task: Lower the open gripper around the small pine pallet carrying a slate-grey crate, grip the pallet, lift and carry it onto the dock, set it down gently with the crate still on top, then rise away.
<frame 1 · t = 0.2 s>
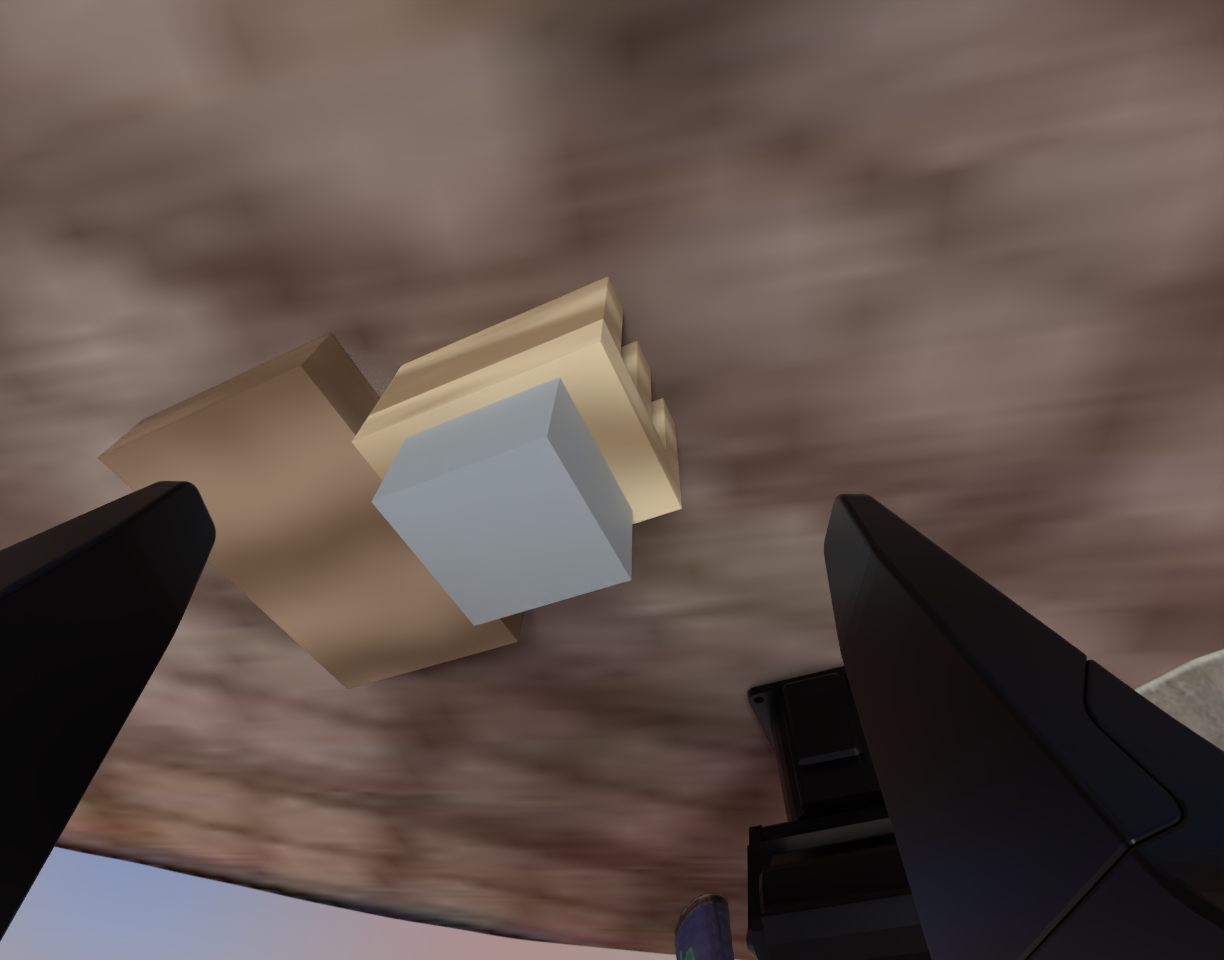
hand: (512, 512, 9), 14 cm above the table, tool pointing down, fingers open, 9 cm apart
flask: (698, 915, 50), on the table
crate: (523, 475, 20), point 5 cm above the table, touching pallet
dock: (351, 517, 27), on the table
pallet: (541, 394, 24), on the table, touching crate
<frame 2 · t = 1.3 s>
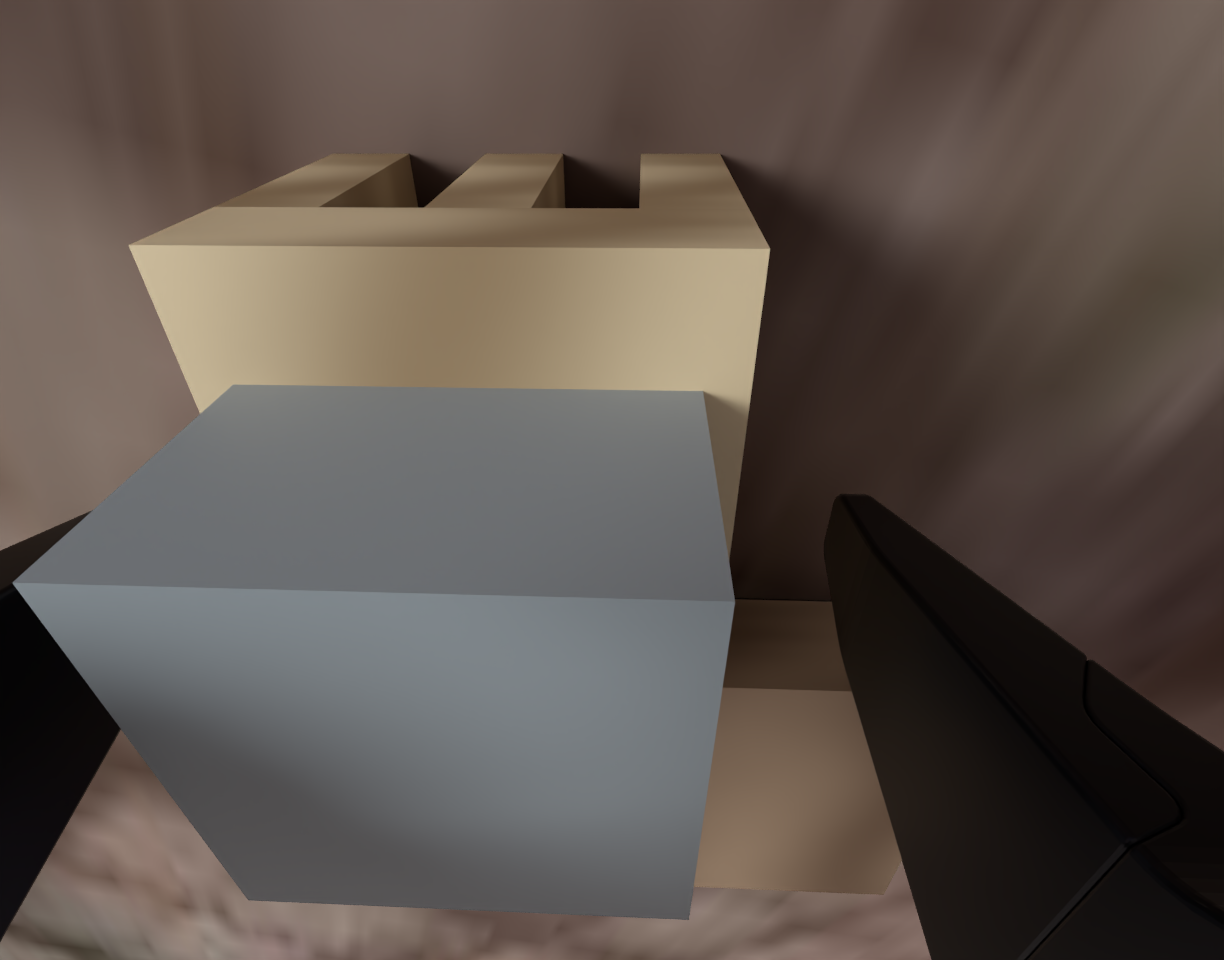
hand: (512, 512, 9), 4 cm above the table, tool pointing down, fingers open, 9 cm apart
crate: (491, 563, 8), point 5 cm above the table, touching pallet
dock: (638, 712, 18), on the table
pallet: (542, 385, 12), on the table, touching crate
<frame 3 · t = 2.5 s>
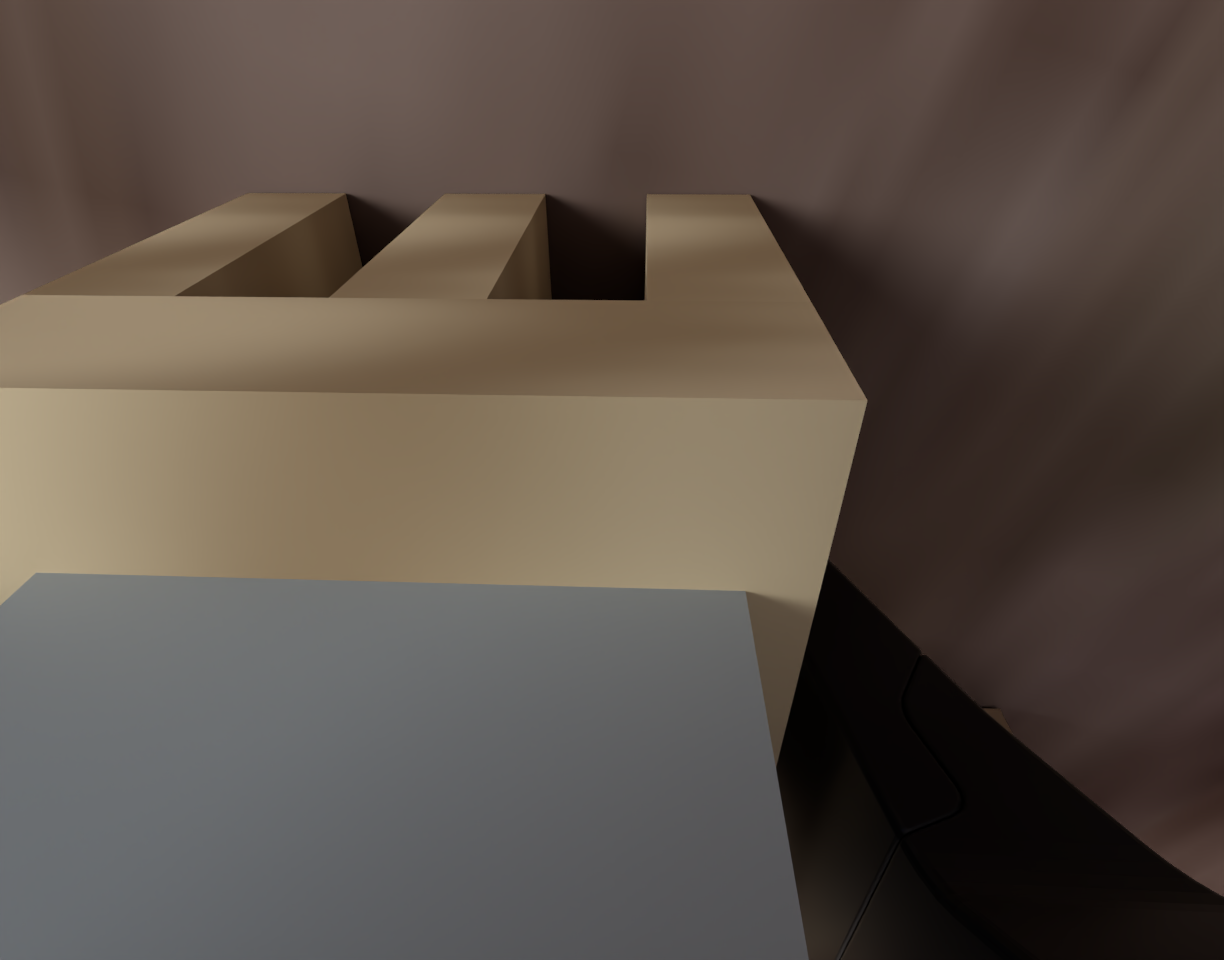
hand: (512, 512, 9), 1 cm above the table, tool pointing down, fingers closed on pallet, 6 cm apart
crate: (440, 778, 6), point 5 cm above the table, touching pallet
pallet: (523, 471, 10), on the table, touching crate, gripper
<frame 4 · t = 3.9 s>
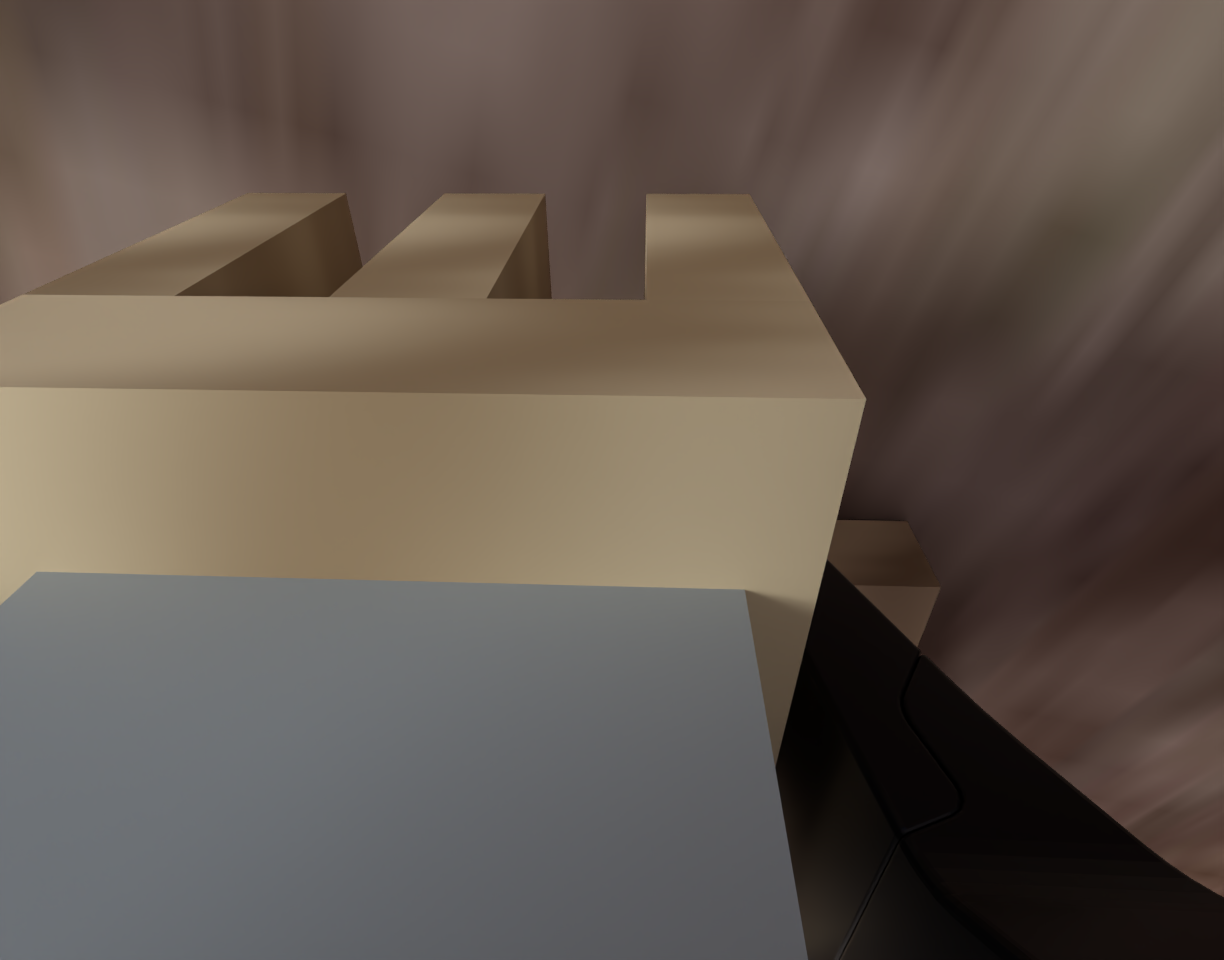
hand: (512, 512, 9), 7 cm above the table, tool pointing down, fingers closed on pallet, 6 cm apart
crate: (440, 777, 6), point 11 cm above the table, touching pallet
dock: (643, 628, 21), on the table
pallet: (523, 470, 10), point 6 cm above the table, touching crate, gripper
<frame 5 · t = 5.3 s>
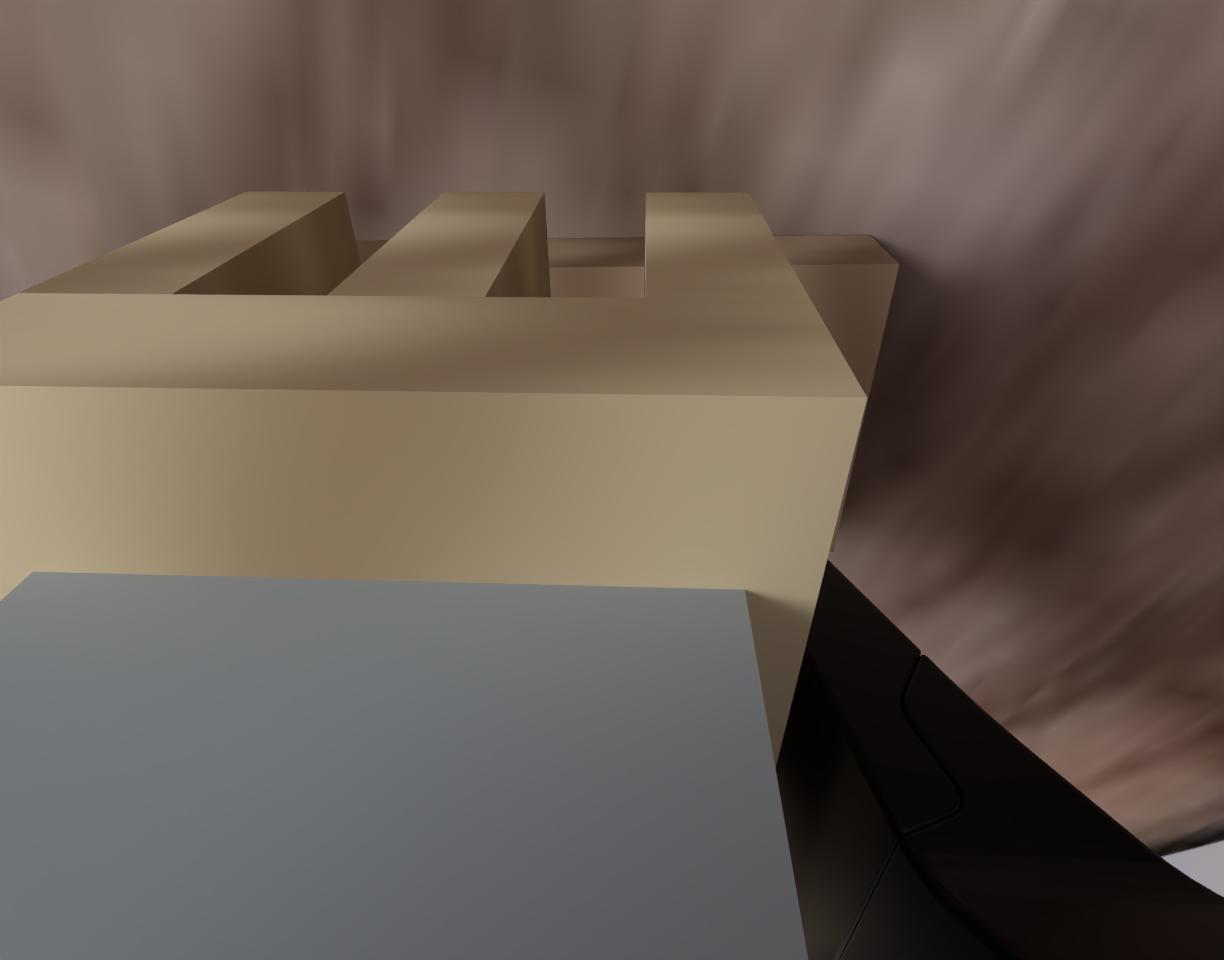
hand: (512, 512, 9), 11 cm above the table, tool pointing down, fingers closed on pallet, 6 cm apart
crate: (439, 778, 6), point 15 cm above the table, touching pallet
dock: (610, 386, 20), on the table
pallet: (523, 470, 10), point 10 cm above the table, touching crate, gripper
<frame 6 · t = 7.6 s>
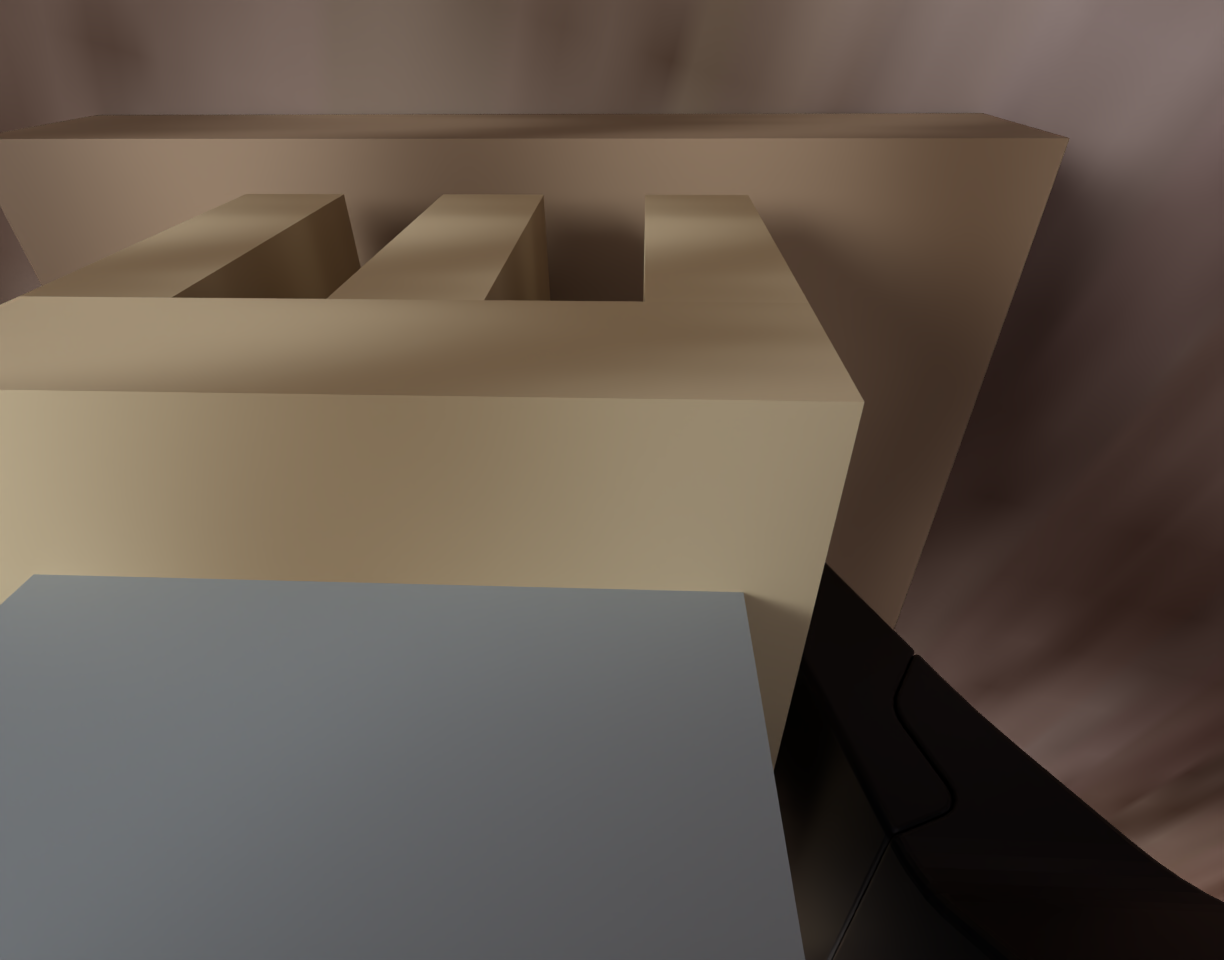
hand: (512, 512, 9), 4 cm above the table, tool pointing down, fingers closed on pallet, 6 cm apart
crate: (438, 780, 6), point 8 cm above the table, touching pallet
dock: (547, 374, 13), on the table
pallet: (522, 471, 10), point 3 cm above the table, touching crate, gripper
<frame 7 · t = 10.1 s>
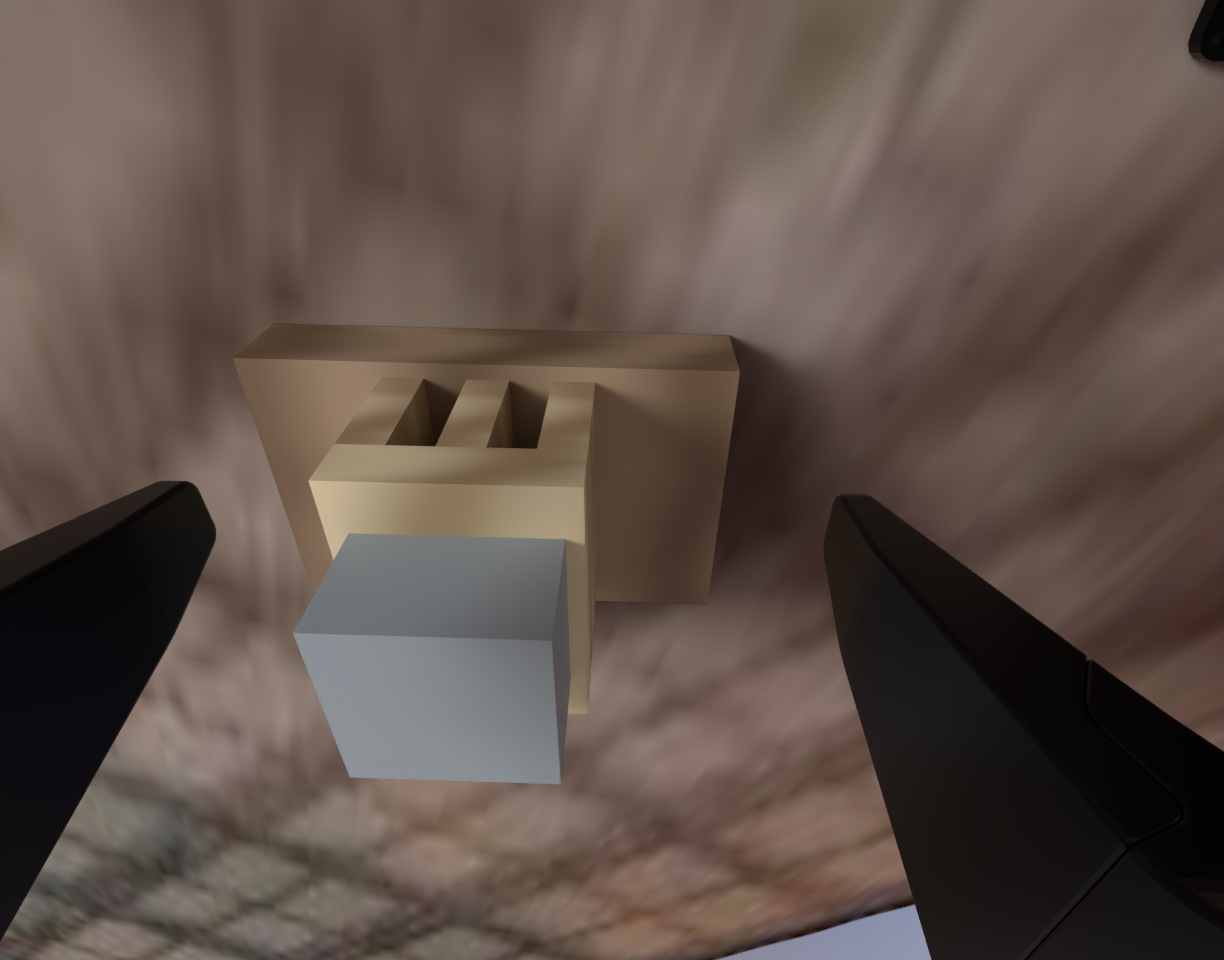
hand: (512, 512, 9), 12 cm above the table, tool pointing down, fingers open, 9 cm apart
crate: (469, 612, 16), point 7 cm above the table, touching pallet
dock: (511, 453, 23), on the table
pallet: (500, 495, 21), point 2 cm above the table, touching crate, dock
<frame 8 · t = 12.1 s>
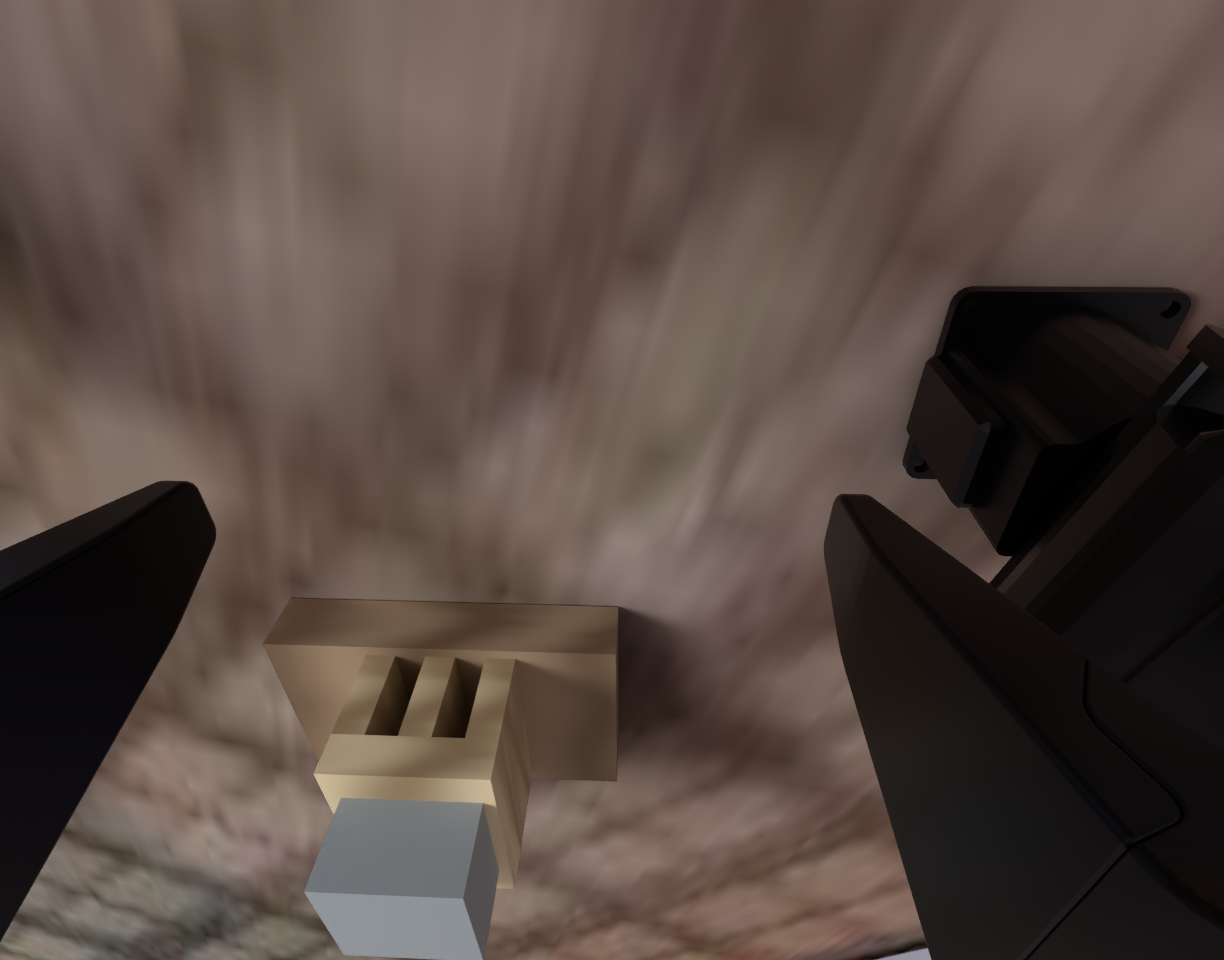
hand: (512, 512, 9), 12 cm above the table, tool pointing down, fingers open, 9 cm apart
crate: (424, 836, 24), point 7 cm above the table, touching pallet
dock: (467, 671, 30), on the table
pallet: (455, 717, 28), point 2 cm above the table, touching crate, dock
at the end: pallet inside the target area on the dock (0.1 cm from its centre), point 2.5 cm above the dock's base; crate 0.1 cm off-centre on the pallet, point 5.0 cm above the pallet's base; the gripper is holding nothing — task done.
